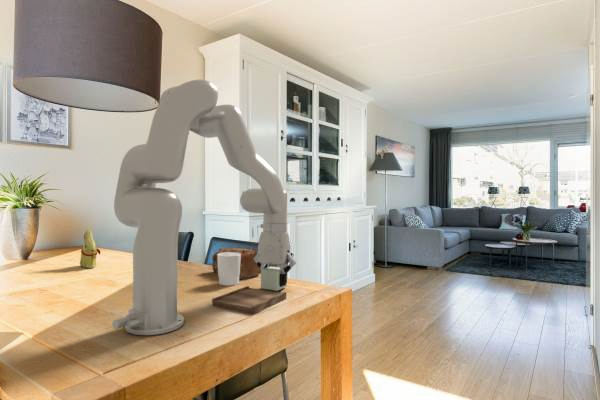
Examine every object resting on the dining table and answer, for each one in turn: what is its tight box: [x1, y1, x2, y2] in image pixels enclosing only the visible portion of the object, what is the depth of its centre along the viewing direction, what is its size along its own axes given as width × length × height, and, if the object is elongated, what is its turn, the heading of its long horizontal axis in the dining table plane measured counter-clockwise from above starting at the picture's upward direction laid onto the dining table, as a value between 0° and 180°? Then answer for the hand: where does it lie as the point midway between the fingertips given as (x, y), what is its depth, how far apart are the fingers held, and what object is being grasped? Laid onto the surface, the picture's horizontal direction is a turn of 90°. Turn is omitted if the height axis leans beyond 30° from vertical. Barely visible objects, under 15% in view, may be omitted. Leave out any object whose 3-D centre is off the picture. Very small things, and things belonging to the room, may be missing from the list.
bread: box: [211, 247, 261, 280], centre depth 140 cm, size 19×11×10 cm, turn 42°
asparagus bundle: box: [79, 229, 101, 270], centre depth 150 cm, size 7×11×15 cm, turn 45°
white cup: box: [217, 252, 241, 287], centre depth 126 cm, size 8×8×10 cm
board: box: [211, 285, 287, 315], centre depth 104 cm, size 16×14×2 cm
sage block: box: [260, 265, 288, 292], centre depth 119 cm, size 6×6×6 cm
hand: (273, 283), depth 119 cm, fingers closed on sage block, 6 cm apart
